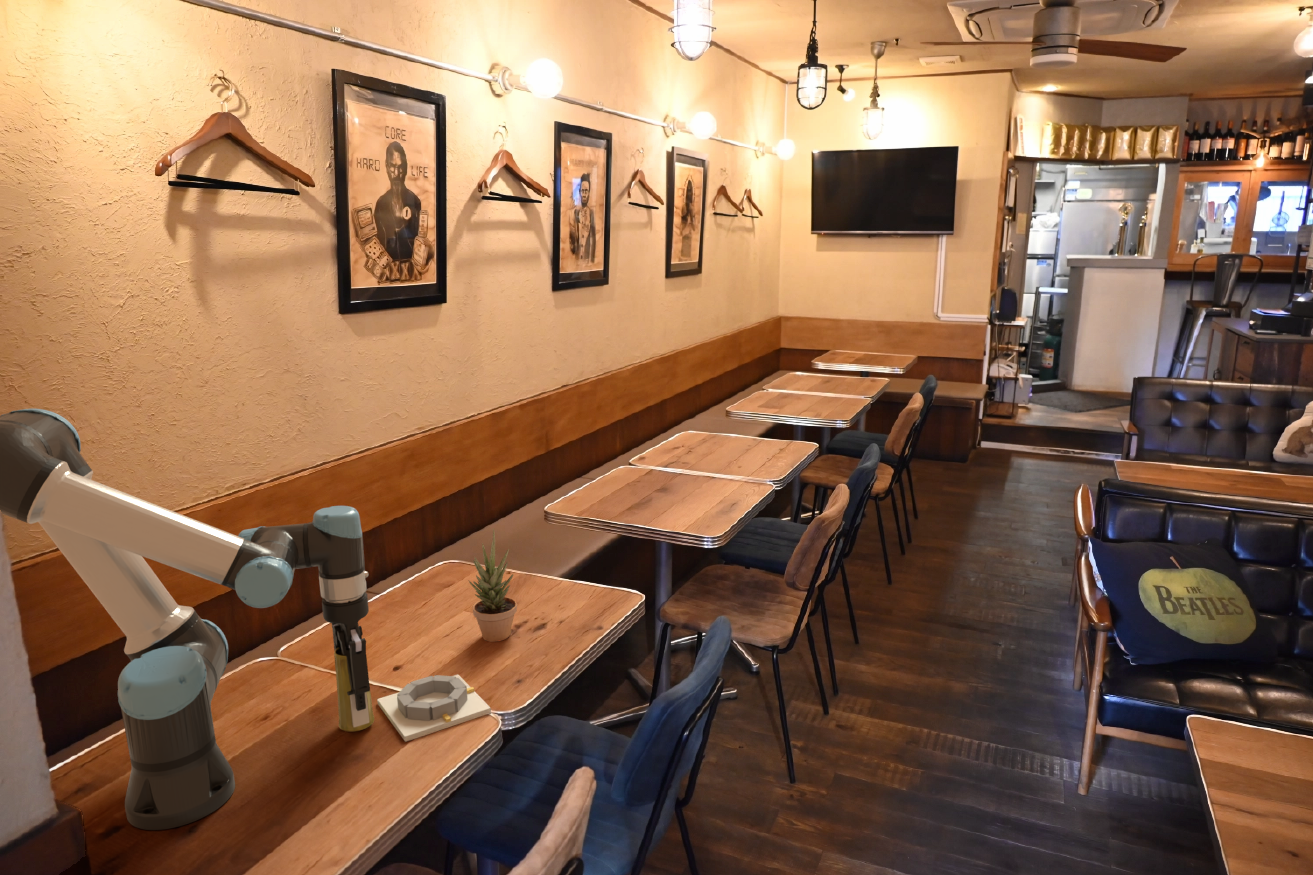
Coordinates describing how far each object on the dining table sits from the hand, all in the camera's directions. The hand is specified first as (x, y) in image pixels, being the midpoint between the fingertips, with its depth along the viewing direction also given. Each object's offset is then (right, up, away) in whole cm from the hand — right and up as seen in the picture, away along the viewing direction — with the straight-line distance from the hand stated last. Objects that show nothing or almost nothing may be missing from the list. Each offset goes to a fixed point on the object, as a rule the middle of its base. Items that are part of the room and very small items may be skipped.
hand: (355, 715), depth 157 cm
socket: (+12, 0, +6) cm, 14 cm away
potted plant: (+19, +6, +36) cm, 41 cm away
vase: (0, -2, 0) cm, 2 cm away
